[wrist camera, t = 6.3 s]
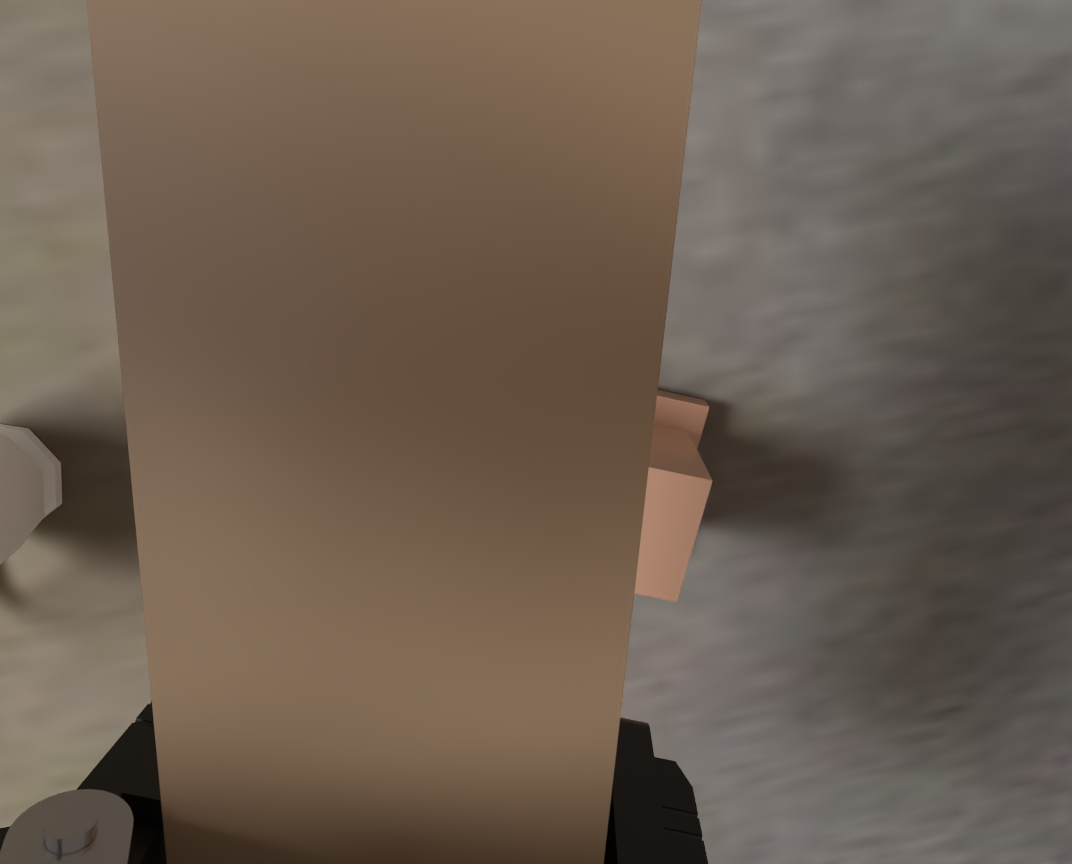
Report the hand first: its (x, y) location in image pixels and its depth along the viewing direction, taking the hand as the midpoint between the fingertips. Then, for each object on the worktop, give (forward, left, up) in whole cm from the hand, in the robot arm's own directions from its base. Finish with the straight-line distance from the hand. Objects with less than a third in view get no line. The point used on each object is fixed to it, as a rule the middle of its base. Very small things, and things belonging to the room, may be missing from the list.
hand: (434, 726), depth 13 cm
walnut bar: (0, 0, -1) cm, 1 cm away
